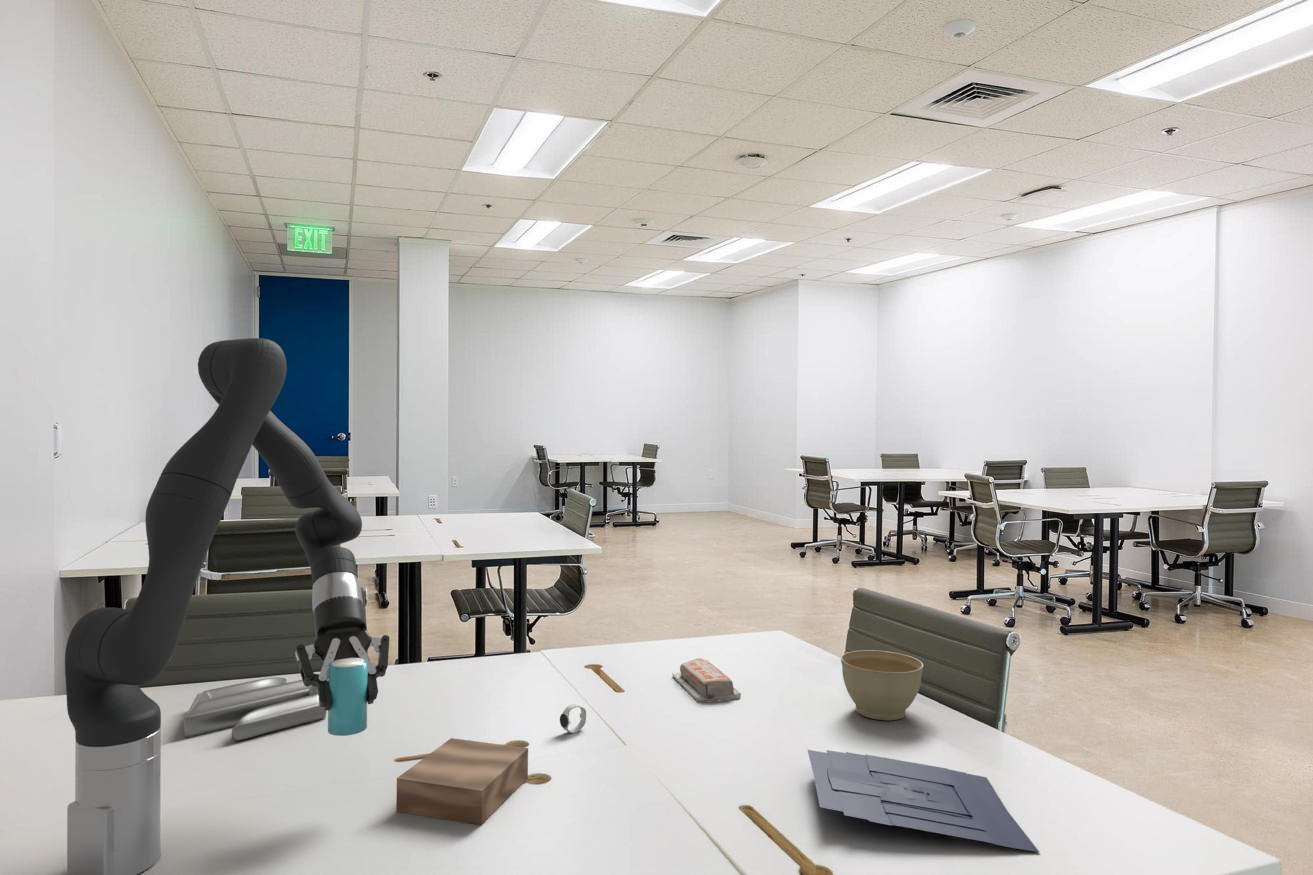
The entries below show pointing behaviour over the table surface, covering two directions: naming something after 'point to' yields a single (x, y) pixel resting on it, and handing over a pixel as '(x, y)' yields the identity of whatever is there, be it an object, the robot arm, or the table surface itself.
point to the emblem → (253, 708)
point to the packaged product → (705, 681)
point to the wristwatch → (565, 722)
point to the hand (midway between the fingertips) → (350, 704)
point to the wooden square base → (462, 781)
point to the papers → (915, 797)
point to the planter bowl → (881, 682)
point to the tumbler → (348, 696)
